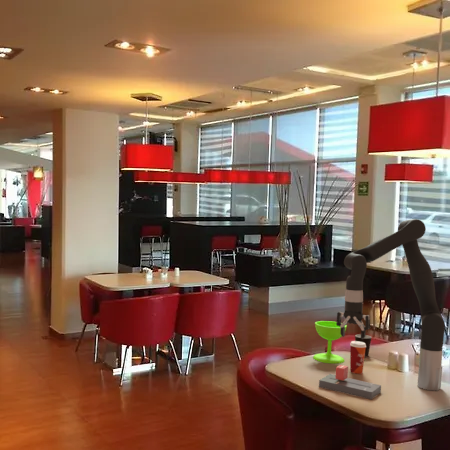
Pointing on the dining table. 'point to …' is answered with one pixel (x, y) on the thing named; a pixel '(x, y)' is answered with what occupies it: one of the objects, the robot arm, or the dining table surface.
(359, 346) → the paper cup
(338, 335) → the wineglass
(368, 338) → the coffee mug
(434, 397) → the dining table surface
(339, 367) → the fader
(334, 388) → the console
